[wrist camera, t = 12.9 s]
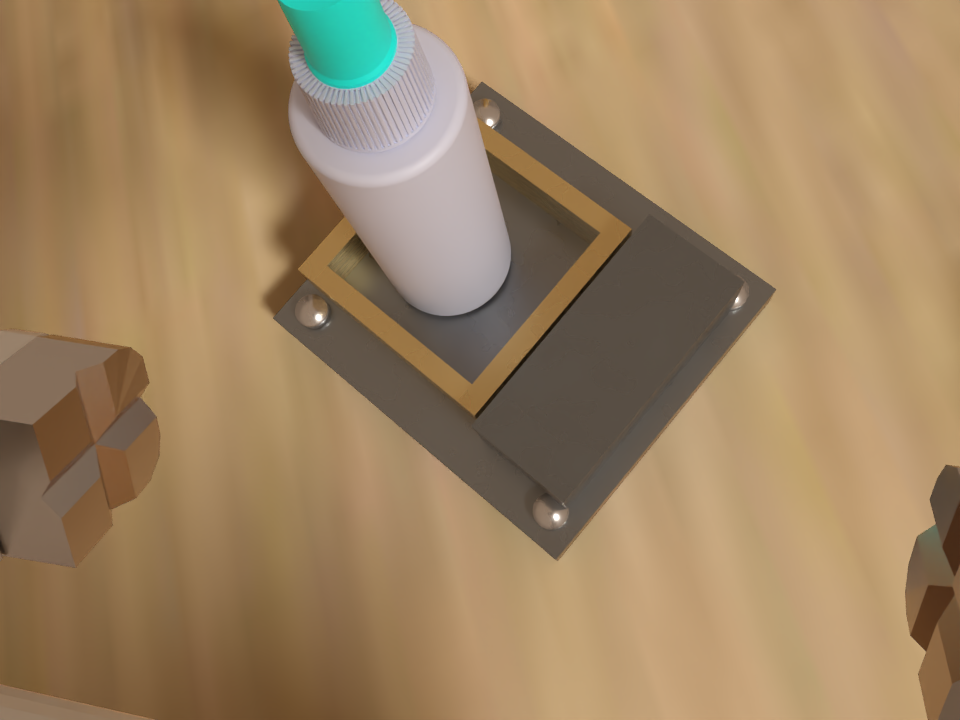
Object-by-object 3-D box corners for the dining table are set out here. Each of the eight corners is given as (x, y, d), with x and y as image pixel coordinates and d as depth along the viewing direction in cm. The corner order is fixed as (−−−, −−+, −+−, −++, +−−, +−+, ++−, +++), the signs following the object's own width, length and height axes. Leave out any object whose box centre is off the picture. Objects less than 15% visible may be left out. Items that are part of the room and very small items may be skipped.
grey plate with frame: (557, 561, 43) (551, 557, 37) (286, 329, 47) (242, 293, 42) (768, 302, 44) (793, 259, 39) (486, 101, 49) (471, 36, 43)
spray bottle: (365, 275, 45) (156, 4, 24) (438, 180, 46) (297, -166, 25) (463, 342, 44) (332, 116, 23) (536, 242, 44) (477, -67, 23)
